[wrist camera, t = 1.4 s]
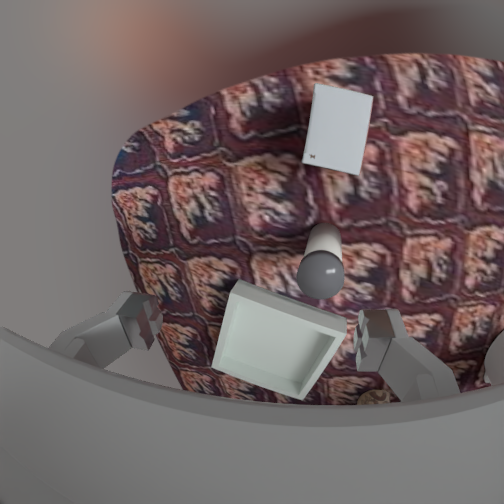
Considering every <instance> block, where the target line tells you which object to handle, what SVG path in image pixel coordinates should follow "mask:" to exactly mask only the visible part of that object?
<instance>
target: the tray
mask: <svg viewBox="0 0 504 504" xmlns="http://www.w3.org/2000/svg"><path fill="white" fill-rule="evenodd" d="M346 334H347V318H345V317H342V316H339V315H336V314H333V313H331V312H328V311H325V310H322V309H319V308H316V307H313V306H311V305H308V304H305V303H302V302H299V301H297V300H294V299H291V298H288V297H286V296H283V295H280V294H277V293H275V292H272V291H269V290H266V289H264V288H261V287H258V286H256V285H253V284H250V283H248V282H245V281H242V280H240V279H239V280H238V281H237V283H236V284H235V286H234V287H233V289H232V290H231V292H230V295H229V299H228V303H227V307H226V311H225V315H224V319H223V323H222V327H221V331H220V335H219V339H218V343H217V347H216V351H215V355H214V359H213V363H212V368H214V369H217V370H219V371H222V372H224V373H227V374H229V375H232V376H234V377H237V378H239V379H242V380H244V381H247V382H250V383H252V384H255V385H258V386H261V387H263V388H266V389H269V390H272V391H275V392H278V393H281V394H284V395H287V396H290V397H293V398H297V399H300V400H303V399H304V398H305V396H306V395H307V393H308V392H309V391H310V389H311V388H312V386H313V385H314V384H315V382H316V381H317V379H318V378H319V376H320V375H321V373H322V372H323V370H324V369H325V367H326V366H327V364H328V363H329V361H330V360H331V358H332V357H333V355H334V354H335V352H336V350H337V349H338V347H339V346H340V344H341V342H342V341H343V339H344V338H345V336H346Z"/></svg>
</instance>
